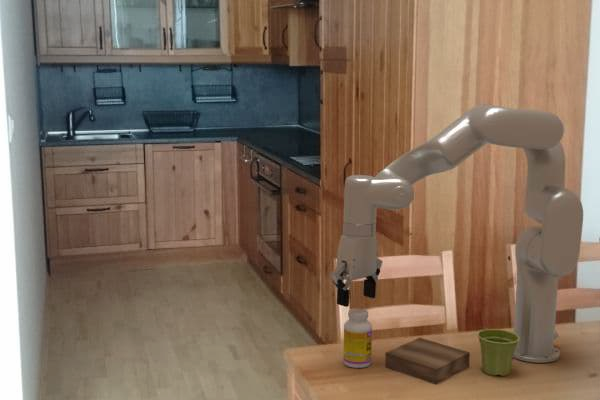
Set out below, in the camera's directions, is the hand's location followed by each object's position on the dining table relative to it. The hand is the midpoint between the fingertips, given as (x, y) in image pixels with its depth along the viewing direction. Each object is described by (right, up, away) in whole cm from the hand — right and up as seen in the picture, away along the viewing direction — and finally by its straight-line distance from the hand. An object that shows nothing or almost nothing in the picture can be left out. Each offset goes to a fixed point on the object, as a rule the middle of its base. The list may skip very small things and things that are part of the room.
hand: (356, 301), depth 176 cm
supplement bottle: (0, -15, +3) cm, 16 cm away
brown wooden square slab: (+17, -16, +1) cm, 23 cm away
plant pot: (+32, -16, -1) cm, 36 cm away
